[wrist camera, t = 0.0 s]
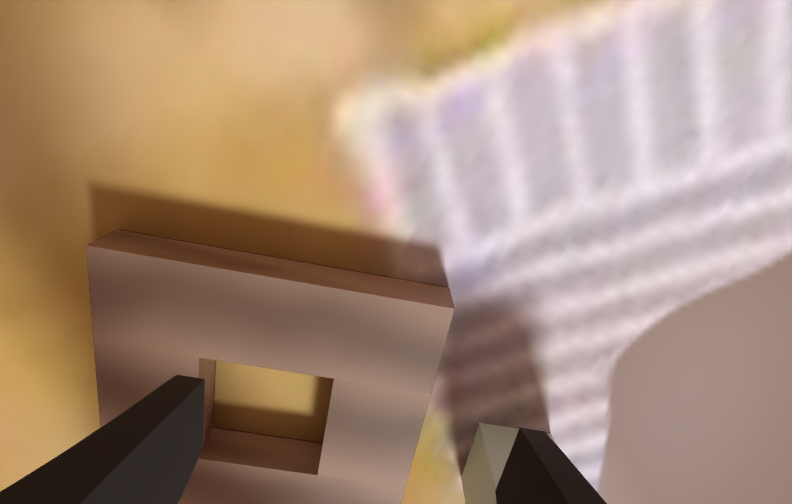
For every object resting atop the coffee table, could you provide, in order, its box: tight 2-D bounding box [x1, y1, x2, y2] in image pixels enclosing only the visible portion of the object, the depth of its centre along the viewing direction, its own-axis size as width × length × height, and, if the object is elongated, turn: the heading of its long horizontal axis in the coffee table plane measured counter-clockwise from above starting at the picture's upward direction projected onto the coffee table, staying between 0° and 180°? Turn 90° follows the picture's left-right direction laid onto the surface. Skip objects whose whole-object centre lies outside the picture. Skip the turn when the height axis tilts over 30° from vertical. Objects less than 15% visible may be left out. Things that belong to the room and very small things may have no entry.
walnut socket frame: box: [86, 230, 455, 504], centre depth 20 cm, size 15×15×2 cm
